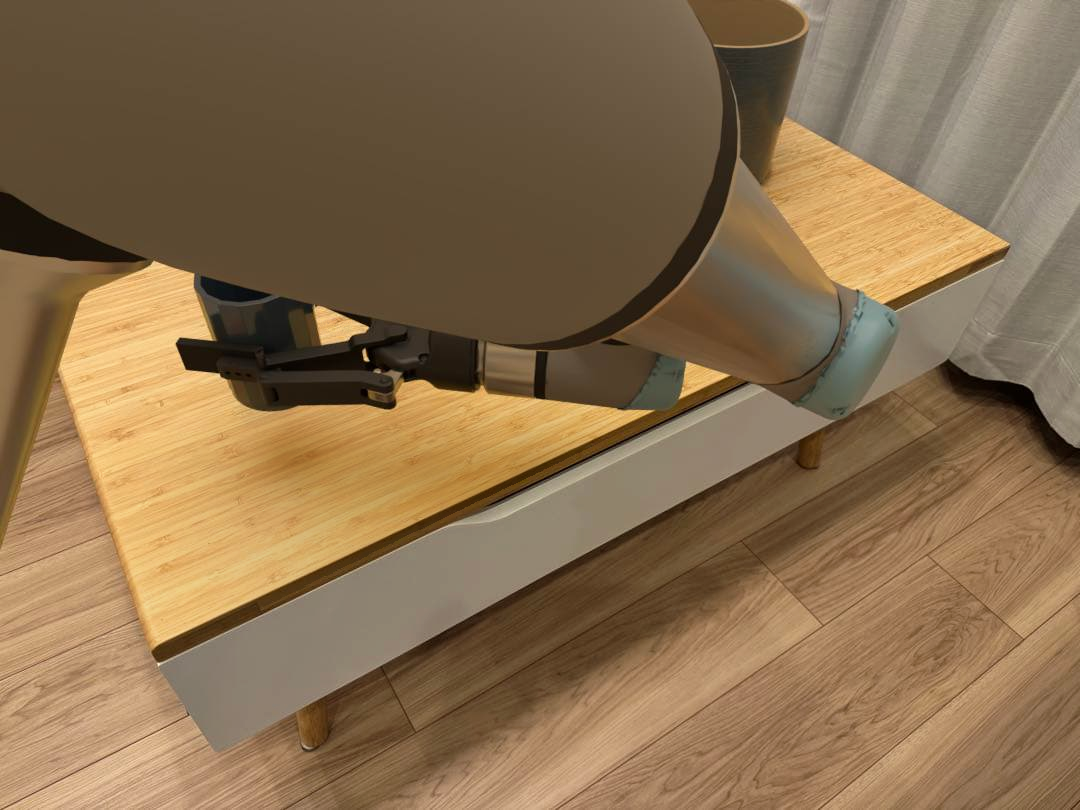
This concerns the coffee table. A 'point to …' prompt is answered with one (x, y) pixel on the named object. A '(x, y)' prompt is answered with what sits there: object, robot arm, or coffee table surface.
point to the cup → (255, 326)
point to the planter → (757, 66)
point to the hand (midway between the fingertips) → (206, 318)
